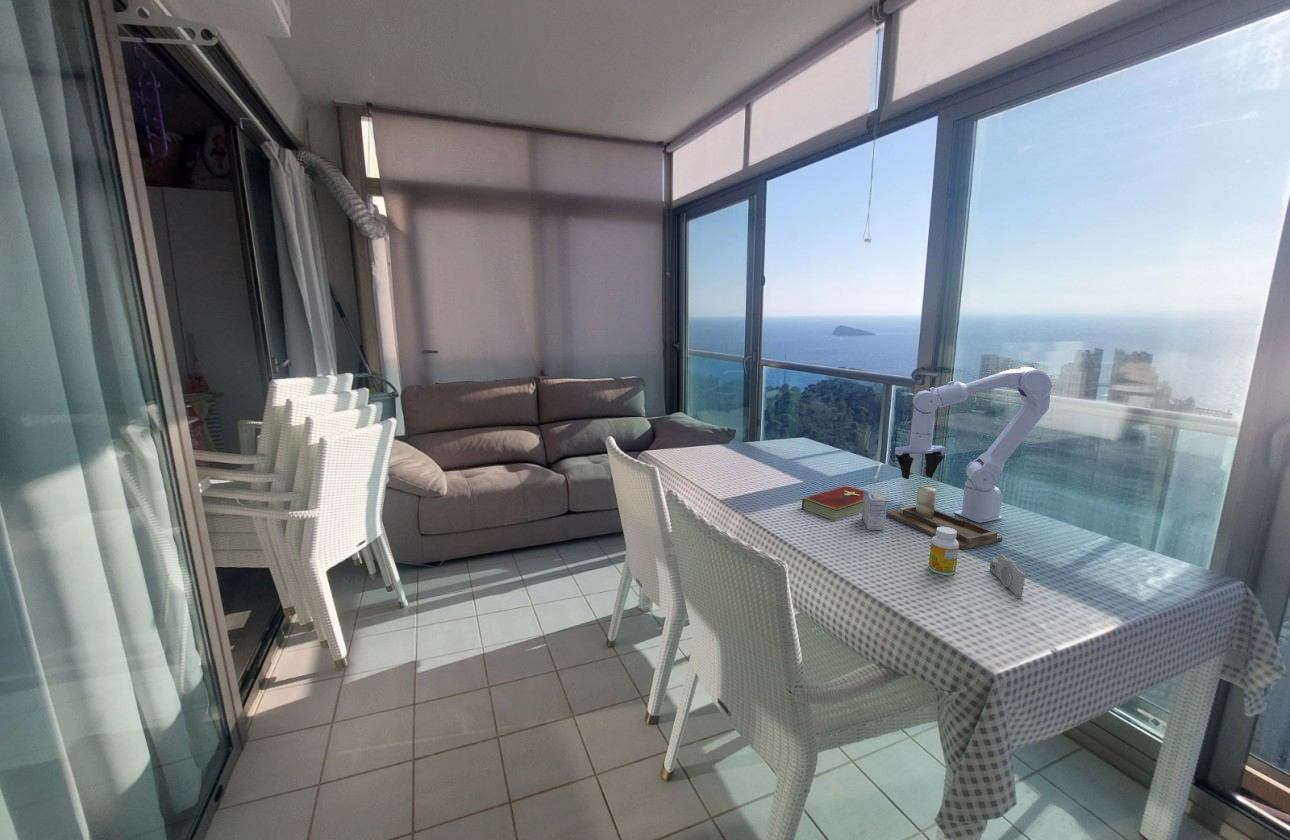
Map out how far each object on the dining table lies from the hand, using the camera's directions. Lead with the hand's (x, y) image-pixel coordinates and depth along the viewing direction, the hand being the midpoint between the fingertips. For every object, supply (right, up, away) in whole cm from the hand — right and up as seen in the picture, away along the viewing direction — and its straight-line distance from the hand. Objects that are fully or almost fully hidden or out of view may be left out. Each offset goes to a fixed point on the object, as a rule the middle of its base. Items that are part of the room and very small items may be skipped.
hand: (917, 477), depth 152 cm
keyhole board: (+1, -12, -11) cm, 17 cm away
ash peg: (-1, -10, -6) cm, 12 cm away
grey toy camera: (-2, -19, -40) cm, 44 cm away
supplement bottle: (-13, -17, -35) cm, 41 cm away
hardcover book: (-21, -10, +4) cm, 24 cm away
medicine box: (-17, -12, -9) cm, 23 cm away
